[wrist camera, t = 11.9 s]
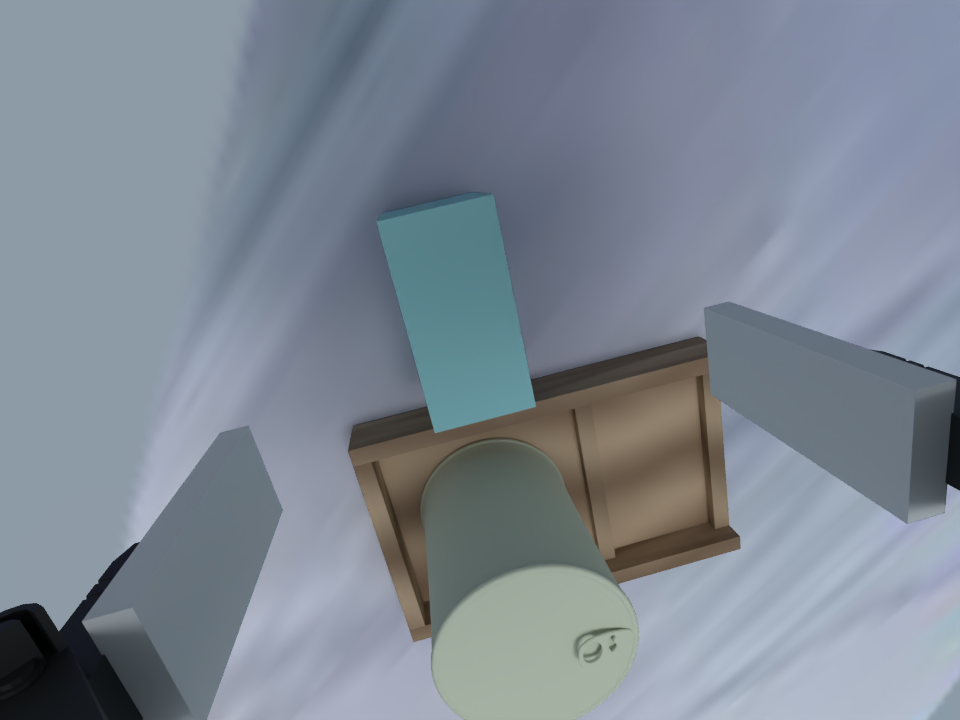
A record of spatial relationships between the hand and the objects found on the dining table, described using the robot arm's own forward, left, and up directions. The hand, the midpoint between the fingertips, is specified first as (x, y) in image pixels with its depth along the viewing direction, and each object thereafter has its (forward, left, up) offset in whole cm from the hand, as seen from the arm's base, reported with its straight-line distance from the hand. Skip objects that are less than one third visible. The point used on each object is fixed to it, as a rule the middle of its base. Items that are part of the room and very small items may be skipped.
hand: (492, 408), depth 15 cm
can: (+13, 0, -15) cm, 20 cm away
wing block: (0, 0, -16) cm, 16 cm away
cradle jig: (+13, +4, -16) cm, 21 cm away
